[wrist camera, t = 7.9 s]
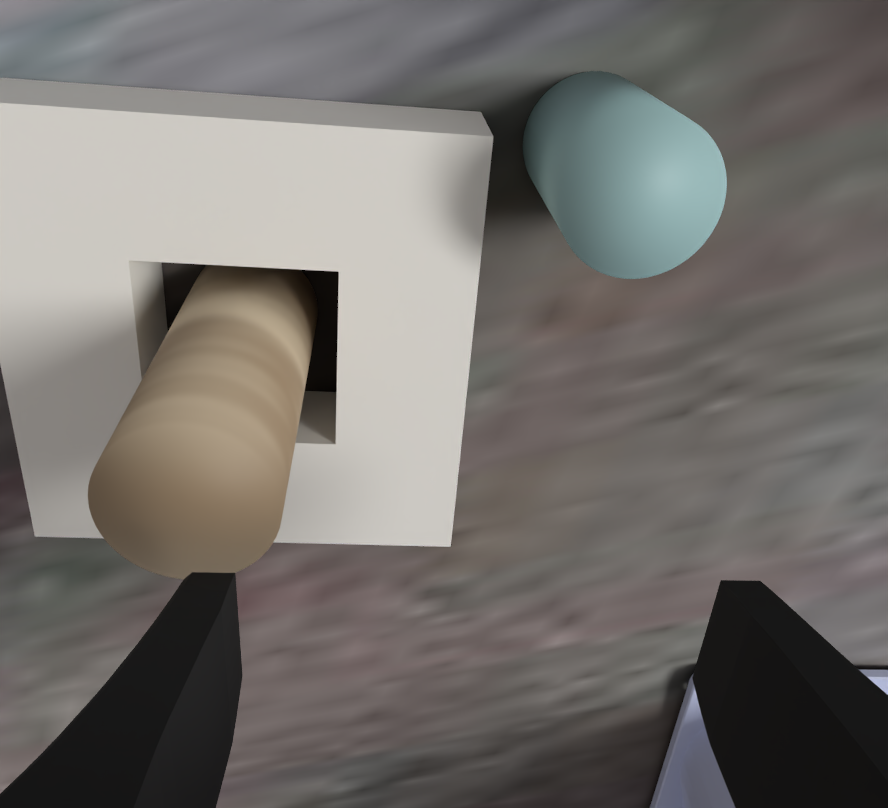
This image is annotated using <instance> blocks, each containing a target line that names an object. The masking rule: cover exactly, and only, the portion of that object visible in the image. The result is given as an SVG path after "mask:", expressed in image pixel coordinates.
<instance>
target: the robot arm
mask: <svg viewBox="0 0 888 808" xmlns="http://www.w3.org/2000/svg"><path fill="white" fill-rule="evenodd" d="M241 681H242V664H241V650H240V635H239V621H238V607H237V592H236V578H235V573H211V572H192V573H191V574H189V575H188V576H187V577H186V578H185V579H184V580H183V582H182V583H181V585H180V586H179V588H178V589H177V591H176V592H175V593H174V595H173V596H172V598H171V599H170V601H169V602H168V603H167V605H166V606H165V608H164V609H163V610H162V612H161V613H160V615H159V616H158V617H157V619H156V620H155V621H154V623H153V624H152V625H151V627H150V628H149V629H148V631H147V632H146V633H145V635H144V636H143V637H142V639H141V640H140V641H139V643H138V644H137V645H136V646H135V648H134V649H133V650H132V651H131V653H130V654H129V655H128V656H127V658H126V659H125V660H124V661H123V662H122V664H121V665H120V666H119V667H118V669H117V670H116V671H115V672H114V674H113V675H112V676H111V677H110V679H109V680H108V681H107V682H106V683H105V685H104V686H103V687H102V688H101V689H100V690H99V692H98V693H97V694H96V695H95V696H94V697H93V698H92V699H91V701H90V702H89V703H88V704H87V705H86V706H85V707H84V708H83V709H82V711H81V712H80V713H79V714H78V715H77V716H76V717H75V718H74V719H73V721H72V722H71V723H70V724H69V725H68V726H67V727H66V728H65V730H64V731H63V732H62V733H61V734H60V735H59V736H58V737H57V738H56V739H55V740H54V741H53V742H52V743H51V744H50V745H49V746H48V748H47V749H46V750H45V751H44V752H43V753H42V754H41V755H40V756H39V757H38V758H37V759H36V760H35V761H34V762H33V763H32V764H31V765H30V766H29V767H28V768H27V769H26V770H25V771H24V772H23V773H22V774H21V775H20V776H18V777H17V778H16V779H15V780H14V781H13V782H12V783H11V784H10V785H9V786H8V787H7V788H6V789H5V790H4V791H3V792H2V793H1V794H0V808H216V804H217V800H218V797H219V793H220V789H221V785H222V781H223V777H224V774H225V770H226V766H227V762H228V758H229V754H230V750H231V746H232V742H233V735H234V729H235V722H236V716H237V709H238V702H239V695H240V688H241ZM650 808H888V670H859V669H857V668H856V667H855V666H854V665H853V664H852V663H851V662H850V661H848V660H847V659H846V658H845V657H844V656H843V655H842V654H841V653H840V652H838V651H837V650H836V649H835V648H834V647H833V646H832V645H831V644H830V643H829V642H827V641H826V640H825V639H824V638H823V637H822V636H821V635H820V634H819V633H818V632H817V631H815V630H814V629H813V628H812V627H811V626H810V625H809V624H808V623H807V622H806V621H805V620H803V619H802V618H801V617H800V616H799V615H798V614H797V613H796V612H795V611H794V610H793V609H791V608H790V607H789V606H788V605H787V604H786V603H785V602H784V601H783V600H782V599H780V598H779V597H778V596H777V595H776V594H775V593H774V592H773V591H771V590H770V589H769V588H768V587H767V586H766V585H764V584H763V583H762V582H761V581H728V580H721V582H720V585H719V589H718V592H717V596H716V599H715V602H714V606H713V609H712V613H711V616H710V619H709V623H708V626H707V630H706V633H705V637H704V640H703V643H702V647H701V650H700V654H699V657H698V660H697V664H696V667H695V671H694V674H692V676H691V678H690V680H689V683H688V687H687V690H686V693H685V696H684V699H683V703H682V706H681V709H680V712H679V715H678V719H677V722H676V725H675V728H674V731H673V735H672V738H671V741H670V744H669V747H668V751H667V754H666V757H665V760H664V763H663V767H662V770H661V773H660V776H659V780H658V783H657V786H656V789H655V792H654V796H653V799H652V802H651V805H650Z"/></svg>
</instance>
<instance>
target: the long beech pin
mask: <svg viewBox="0 0 888 808" xmlns="http://www.w3.org/2000/svg"><path fill="white" fill-rule="evenodd" d="M317 319H318V303H317V298H316V294H315V292H314V289H313V287H312V285H311V283H310V281H309V280H308V278H307V277H306V276H305V274H304V273H303V272H302V271H301V270H299V269H280V268H261V267H242V266H223V265H206V266H205V267H204V269H203V270H202V271H201V273H200V274H199V276H198V277H197V279H196V281H195V283H194V285H193V286H192V288H191V290H190V292H189V294H188V296H187V298H186V299H185V301H184V303H183V305H182V307H181V309H180V310H179V312H178V314H177V316H176V318H175V320H174V322H173V323H172V325H171V327H170V329H169V331H168V333H167V334H166V336H165V338H164V340H163V342H162V344H161V345H160V347H159V349H158V351H157V353H156V355H155V357H154V358H153V360H152V362H151V364H150V366H149V368H148V369H147V371H146V373H145V375H144V377H143V379H142V381H141V382H140V384H139V386H138V388H137V390H136V392H135V393H134V395H133V397H132V399H131V401H130V403H129V405H128V406H127V408H126V410H125V412H124V414H123V416H122V417H121V419H120V421H119V423H118V425H117V427H116V429H115V430H114V432H113V434H112V436H111V438H110V440H109V441H108V443H107V445H106V447H105V449H104V451H103V452H102V454H101V456H100V458H99V460H98V462H97V464H96V465H95V467H94V470H93V472H92V474H91V477H90V481H89V485H88V504H89V509H90V513H91V516H92V519H93V521H94V523H95V526H96V527H97V529H98V531H99V532H100V534H101V535H102V537H103V538H104V539H105V540H106V541H107V543H108V544H109V545H110V546H111V547H112V548H113V549H114V550H115V551H116V552H118V553H119V554H120V555H122V556H123V557H124V558H125V559H127V560H129V561H130V562H132V563H134V564H135V565H137V566H139V567H141V568H143V569H145V570H148V571H150V572H153V573H156V574H159V575H163V576H167V577H171V578H177V579H185V578H186V577H187V576H188V575H189V574H191V573H192V572H211V573H235V572H238V571H240V570H242V569H244V568H246V567H248V566H250V565H251V564H253V563H254V562H255V561H257V560H258V559H259V558H260V557H261V556H262V555H264V554H265V553H266V551H267V550H268V549H269V548H270V546H271V545H272V544H273V542H274V540H275V538H276V537H277V534H278V531H279V529H280V525H281V520H282V515H283V509H284V504H285V498H286V492H287V487H288V481H289V476H290V470H291V464H292V459H293V453H294V448H295V442H296V436H297V431H298V425H299V419H300V414H301V408H302V403H303V397H304V391H305V386H306V380H307V375H308V369H309V363H310V358H311V352H312V347H313V341H314V335H315V330H316V324H317Z"/></svg>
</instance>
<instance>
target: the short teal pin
mask: <svg viewBox="0 0 888 808" xmlns="http://www.w3.org/2000/svg"><path fill="white" fill-rule="evenodd" d="M523 157H524V162H525V166H526V169H527V172H528V174H529V176H530V178H531V180H532V182H533V183H534V185H535V187H536V189H537V190H538V192H539V194H540V196H541V197H542V199H543V201H544V203H545V204H546V206H547V208H548V210H549V211H550V213H551V215H552V217H553V218H554V220H555V222H556V223H557V225H558V227H559V229H560V230H561V232H562V234H563V236H564V237H565V239H566V241H567V243H568V244H569V246H570V247H571V249H572V250H573V252H574V253H575V254H576V255H577V256H578V257H579V258H580V259H581V260H582V261H583V262H584V263H586V264H587V265H588V266H589V267H591V268H593V269H595V270H596V271H598V272H601V273H603V274H606V275H609V276H613V277H617V278H625V279H638V278H646V277H651V276H654V275H658V274H661V273H663V272H666V271H669V270H670V269H672V268H674V267H676V266H678V265H680V264H681V263H683V262H684V261H686V260H687V259H688V258H689V257H691V256H692V255H693V254H694V253H695V252H696V251H697V250H698V249H699V248H700V247H701V246H702V245H703V244H704V243H705V241H706V240H707V239H708V237H709V236H710V235H711V233H712V231H713V230H714V228H715V226H716V225H717V222H718V220H719V218H720V216H721V213H722V210H723V206H724V202H725V197H726V187H727V179H726V170H725V165H724V161H723V158H722V156H721V153H720V151H719V149H718V147H717V145H716V144H715V142H714V141H713V139H712V138H711V137H710V135H709V134H708V133H707V132H706V131H705V130H704V129H703V128H702V127H700V126H699V125H698V124H696V123H695V122H693V121H692V120H690V119H689V118H687V117H685V116H684V115H682V114H681V113H679V112H677V111H676V110H674V109H673V108H671V107H669V106H668V105H666V104H665V103H663V102H662V101H660V100H658V99H657V98H655V97H654V96H652V95H650V94H649V93H647V92H646V91H644V90H643V89H641V88H639V87H638V86H636V85H635V84H633V83H631V82H630V81H628V80H627V79H625V78H623V77H621V76H619V75H616V74H612V73H609V72H602V71H590V72H582V73H579V74H575V75H572V76H570V77H568V78H565V79H563V80H562V81H560V82H558V83H557V84H555V85H554V86H553V87H551V88H550V89H549V90H548V91H547V92H546V93H545V94H544V95H543V96H542V97H541V98H540V100H539V101H538V102H537V103H536V105H535V107H534V108H533V110H532V112H531V114H530V116H529V118H528V120H527V124H526V127H525V130H524V136H523Z"/></svg>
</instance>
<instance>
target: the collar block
mask: <svg viewBox="0 0 888 808" xmlns="http://www.w3.org/2000/svg"><path fill="white" fill-rule="evenodd" d="M492 146H493V135H492V133H491V131H490V129H489V127H488V125H487V123H486V121H485V119H484V117H483V115H482V113H481V112H477V111H463V110H449V109H434V108H420V107H406V106H392V105H378V104H364V103H350V102H336V101H322V100H308V99H294V98H280V97H266V96H252V95H238V94H224V93H210V92H196V91H182V90H168V89H154V88H140V87H126V86H112V85H97V84H83V83H69V82H55V81H41V80H27V79H13V78H0V366H1V370H2V375H3V380H4V385H5V390H6V395H7V400H8V405H9V410H10V415H11V420H12V425H13V430H14V435H15V440H16V445H17V450H18V455H19V460H20V465H21V470H22V475H23V480H24V485H25V490H26V495H27V500H28V505H29V510H30V515H31V520H32V525H33V529H34V534H35V537H73V538H103V537H102V535H101V534H100V532H99V531H98V529H97V527H96V526H95V523H94V521H93V519H92V516H91V513H90V509H89V504H88V485H89V481H90V477H91V474H92V472H93V470H94V467H95V465H96V464H97V462H98V460H99V458H100V456H101V454H102V452H103V451H104V449H105V447H106V445H107V443H108V441H109V440H110V438H111V436H112V434H113V432H114V430H115V429H116V427H117V425H118V423H119V421H120V419H121V417H122V416H123V414H124V412H125V410H126V408H127V406H128V405H129V403H130V401H131V399H132V397H133V395H134V393H135V392H136V390H137V388H138V386H139V384H140V382H141V381H142V379H143V377H144V375H145V373H146V371H147V369H148V368H149V366H150V364H151V362H152V360H153V358H154V357H155V355H156V353H157V351H158V349H159V347H160V345H161V344H162V342H163V340H164V338H165V336H166V334H167V333H168V328H167V317H166V306H165V295H164V284H163V273H162V262H167V263H186V264H205V265H223V266H242V267H261V268H280V269H299V270H317V271H336V272H339V284H338V339H337V392H323V391H304V397H303V403H302V408H301V414H300V419H299V425H298V431H297V436H296V442H295V448H294V453H293V459H292V464H291V470H290V476H289V481H288V487H287V492H286V498H285V504H284V509H283V515H282V520H281V525H280V529H279V531H278V534H277V537H276V538H275V540H274V542H279V543H321V544H362V545H403V546H445V547H451V538H452V529H453V519H454V510H455V500H456V490H457V481H458V471H459V462H460V452H461V443H462V433H463V424H464V414H465V404H466V395H467V385H468V376H469V366H470V357H471V347H472V337H473V328H474V318H475V309H476V299H477V290H478V280H479V271H480V261H481V251H482V242H483V232H484V223H485V213H486V204H487V194H488V185H489V175H490V165H491V156H492Z"/></svg>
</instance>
